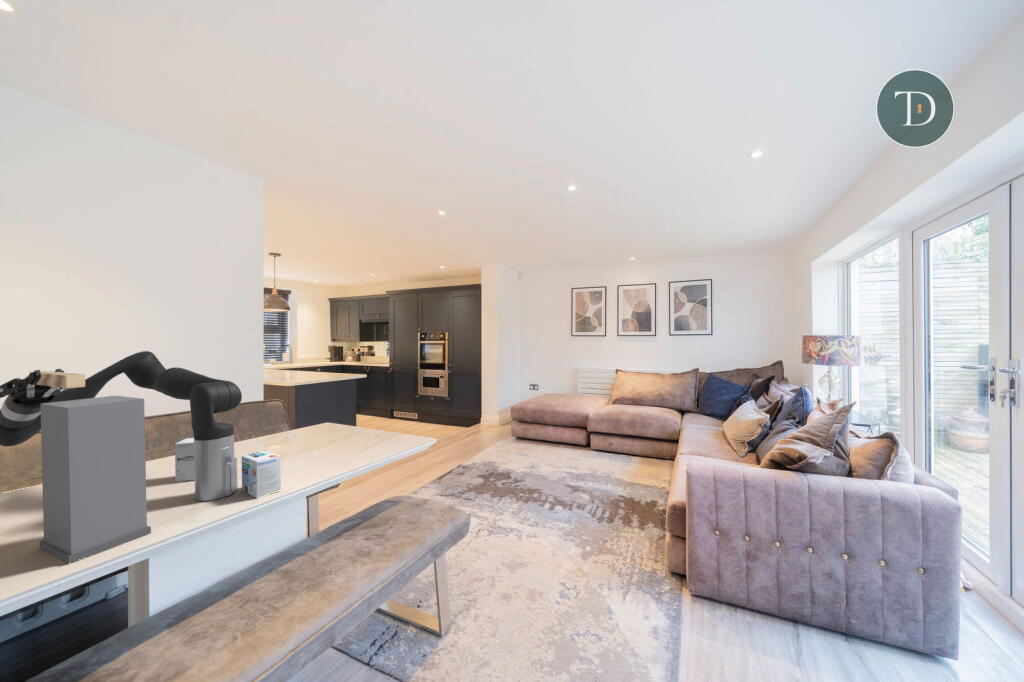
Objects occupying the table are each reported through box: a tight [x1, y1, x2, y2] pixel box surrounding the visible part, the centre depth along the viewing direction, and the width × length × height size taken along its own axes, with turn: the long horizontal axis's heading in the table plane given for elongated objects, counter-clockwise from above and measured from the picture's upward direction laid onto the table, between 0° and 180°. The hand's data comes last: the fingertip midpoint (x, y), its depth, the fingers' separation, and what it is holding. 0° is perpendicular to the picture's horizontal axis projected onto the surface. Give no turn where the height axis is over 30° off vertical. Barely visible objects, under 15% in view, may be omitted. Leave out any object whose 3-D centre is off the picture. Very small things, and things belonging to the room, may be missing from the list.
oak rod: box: [29, 370, 86, 388], centre depth 93 cm, size 22×3×3 cm, turn 66°
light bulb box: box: [241, 450, 282, 499], centre depth 112 cm, size 11×7×11 cm, turn 56°
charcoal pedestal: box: [39, 395, 152, 564], centre depth 85 cm, size 15×13×32 cm
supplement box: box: [174, 437, 195, 483], centre depth 124 cm, size 7×7×13 cm
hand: (49, 372), depth 94 cm, fingers closed on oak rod, 3 cm apart
